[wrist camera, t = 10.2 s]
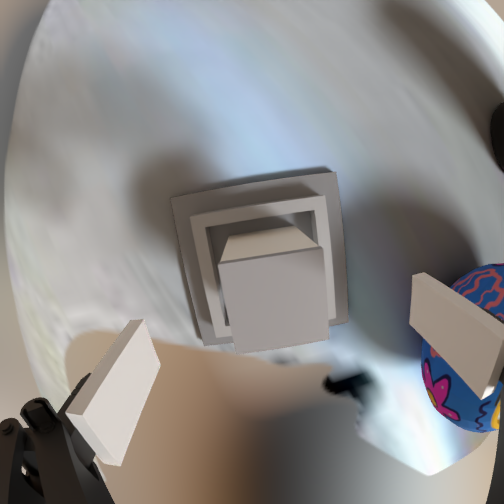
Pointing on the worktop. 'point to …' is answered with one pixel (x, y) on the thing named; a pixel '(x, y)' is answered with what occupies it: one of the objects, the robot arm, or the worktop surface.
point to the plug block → (274, 289)
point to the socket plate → (251, 220)
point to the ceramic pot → (442, 374)
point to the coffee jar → (498, 133)
